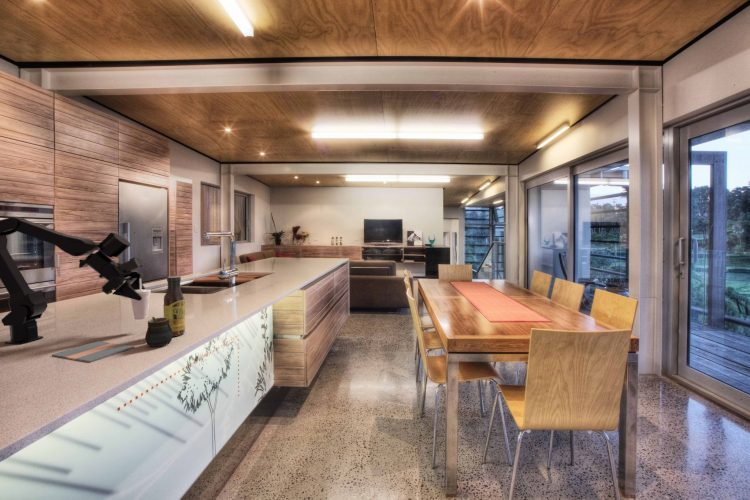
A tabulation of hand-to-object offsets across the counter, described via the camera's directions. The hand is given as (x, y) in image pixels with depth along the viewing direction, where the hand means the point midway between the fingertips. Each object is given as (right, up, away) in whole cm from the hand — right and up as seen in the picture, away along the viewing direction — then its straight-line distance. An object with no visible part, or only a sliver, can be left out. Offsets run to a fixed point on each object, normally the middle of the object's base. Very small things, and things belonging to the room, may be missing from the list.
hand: (144, 297), depth 117 cm
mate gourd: (+14, -13, -13) cm, 23 cm away
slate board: (-2, -13, -19) cm, 23 cm away
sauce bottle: (+12, -12, -3) cm, 18 cm away
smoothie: (-1, -7, 0) cm, 7 cm away
